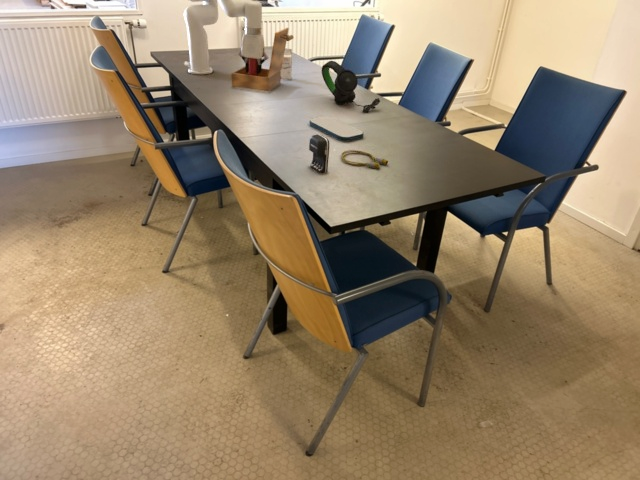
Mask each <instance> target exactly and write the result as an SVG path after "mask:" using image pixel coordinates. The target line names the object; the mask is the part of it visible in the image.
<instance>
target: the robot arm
mask: <svg viewBox="0 0 640 480" xmlns="http://www.w3.org/2000/svg"><path fill="white" fill-rule="evenodd" d="M188 1H189V2H192V3H197V2H198V3H199V2H202V4H191V5H189V6H187V7H186V8H185V9H184V12H183V18H184V22H185V26H186V31H187V41H188V51H189V52H188V54H189V61H184V62H183V66H184V67H188V68H187V73H189V74H192V75H209V74H212V73H213V71H214V69H213V68H212V67H210V56H209V40H208V38H209V37H208V34H207V32H206V29H205V28H204V26H211V25H215V24H216V23H217V22H218V20H219V5H220V8H221V9H222V11H223V13H224V14H225V15H226V16H227V17H229V18H243V17H244V26H243V27H242V28H241V29H242V30H241V31H244V33H243V34H242V39H241V50H240V51H239V52H238V56H239V57H240V58H241V59H242V60H243V62H244V64H245V65H244V66H245V69H246V72H248V58H255V59H257V61H258V65H257V74H259V73H261V71H262V68H263V67H262V65H263V64H264V63H265V62H266V61H267V60H269V55H268V54H267V53H266V48H265V39H264V35H263V34H262V33H263V24H262V23H263V5H262V3H261V1H258V0H188Z"/></svg>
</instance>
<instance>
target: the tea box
mask: <svg viewBox="0 0 640 480" xmlns="http://www.w3.org/2000/svg"><path fill="white" fill-rule="evenodd" d="M268 74H269V68H263V67H262V71H261V73H259V76H252V75H248V72H246V69H245V65H244V66H243V67H241V68H239V69H236V70H234V71H233V72H231V74H230V75H231V78H230V79H231V87H234V88H242V89H248V90H254V91H255V90H256V91H262V92H263V91H264V92H271V90H274V89H275V88H276V87H278V86H279V85H280V84H281V81H282V80H281V79H282V78H281V71H279V72H277V73H276V74H274V75H273V76H271V77H268Z"/></svg>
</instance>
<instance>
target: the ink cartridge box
mask: <svg viewBox="0 0 640 480" xmlns="http://www.w3.org/2000/svg"><path fill="white" fill-rule="evenodd" d="M292 72H293V49H292V48H286V47H285V53H284V58H283V64H282V70H281V79H283V80H284V79H285V80H292Z"/></svg>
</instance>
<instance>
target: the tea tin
mask: <svg viewBox="0 0 640 480" xmlns="http://www.w3.org/2000/svg"><path fill="white" fill-rule="evenodd" d="M257 65H258V61H257V59H255V58H248V75H252V76H259V74H257Z"/></svg>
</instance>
